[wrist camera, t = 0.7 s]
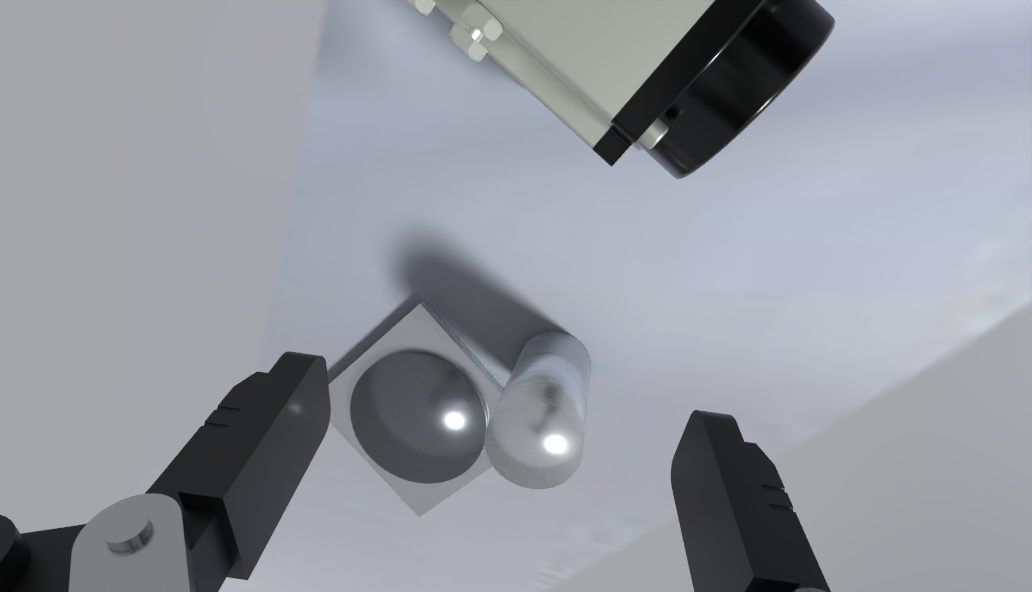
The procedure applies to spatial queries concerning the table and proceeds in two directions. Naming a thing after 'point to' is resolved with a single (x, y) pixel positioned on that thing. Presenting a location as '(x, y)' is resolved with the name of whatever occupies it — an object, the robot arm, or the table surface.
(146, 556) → the robot arm
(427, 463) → the flange
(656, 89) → the ball valve
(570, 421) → the grey cylinder
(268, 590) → the table surface
